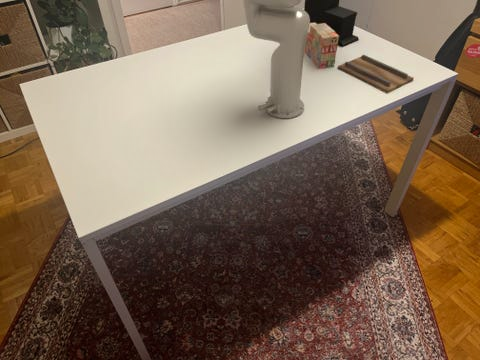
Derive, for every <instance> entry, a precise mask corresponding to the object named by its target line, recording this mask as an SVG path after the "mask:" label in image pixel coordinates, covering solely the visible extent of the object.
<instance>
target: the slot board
mask: <svg viewBox="0 0 480 360" xmlns="http://www.w3.org/2000/svg"><path fill="white" fill-rule="evenodd" d="M337 70H339V71H341V72H344V73H346V74H348V75H349V76H352V77H353V78H356V79H357V80H360V81H361V82H363V83H366V85H367V84H368V85H369V86H372V87H373V88H376V89H377V90H379V91H381V92H383V93H385V94H388V93H391V92H393V91H395V90H397V89H400V88H401V87H403V86H405V85H408V84H409V83H411V82H413V81H414V79H415V78H414V77H412V76H410V75H409V74H408V73H406V72H404V71H402V70H400V69H398V68H395V67H393V66H391V65H388V64H386V63H385V62H384V63H383V62H382V61H379V60H377V59H374V58H372V57H369V56H368V55H367V54H361V56H359V57H356V58H355V59H352V60H349V61H345V62H344V63H342V64H340V65H339V64H338V66H337Z"/></svg>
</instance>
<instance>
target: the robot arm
mask: <svg viewBox="0 0 480 360" xmlns="http://www.w3.org/2000/svg"><path fill="white" fill-rule="evenodd" d="M301 2H302V0H242V3H243V8H244V15H245V18H246V19H245V21H246V25H247V29H248V32H249V34H250V36H252V37H253V38H255V39H257V40H258V39H259V40H262V41H263V40H264V41H269V42H274V43H277V44H279V46H277V47H276V48H275V49H274V51H273V52H272V55H271V57H270V90H269V91H270V94H269V95H270V96H268V97H267V101H265V103H262V104H260V105H258V106H257V108H258V111H260V112H263V111H266V113H267V114H269V115H271V116H272V117H274V118H279V119H293V118H295V117H298V116H300V115H301V114H302V113H303V111H304V110H305V104H304V102H303V101H302V100H301V89H302V88H301V87H302V78H303V64H304V54H305V52H304V49H305V43H306V38H307V34H308V30H309V26H310V18H309V15H308V13H307V12H306V11H304V8H300V7H298V6H299V5H300V4H301Z"/></svg>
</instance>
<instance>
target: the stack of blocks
mask: <svg viewBox="0 0 480 360" xmlns="http://www.w3.org/2000/svg"><path fill="white" fill-rule="evenodd" d="M338 39H339V35H338V34H336V33H335V31H334V30H333V29H331V28H330V27H329V26H328V25H327V24H325V23H322V24H316V23H310V26H309V30H308V34H307V38H306V43H305V49H304V54H306V55H307V57H308V58H309V59H310V60H311V61H312V62H313V64H314V65H315V66H316V67H317V69H319V70H322V69H329V68H334V67H335V62H336V56H337V51H338Z"/></svg>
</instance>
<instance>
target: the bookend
mask: <svg viewBox="0 0 480 360" xmlns="http://www.w3.org/2000/svg"><path fill="white" fill-rule="evenodd" d="M339 5H340V0H304V7H303V10H304V11H306V12H307V13H308V15H309V18H310V23H316V24H322V23H325V24H327V25H328V26H329V27H330V28H331V29H333V30H334V31H335V33H336V34H338V35H339V39H338V46H339V47H341V48H344V47H346V46H348V45H351V44H354V43H355V42H358V41H359V40H360V39H359V36H357V35H354V29H355V23H356V18H357V15H358V12H357V11H354V10H351V9H348V8H346V7H343V6H339ZM338 46H337V47H338Z"/></svg>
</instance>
